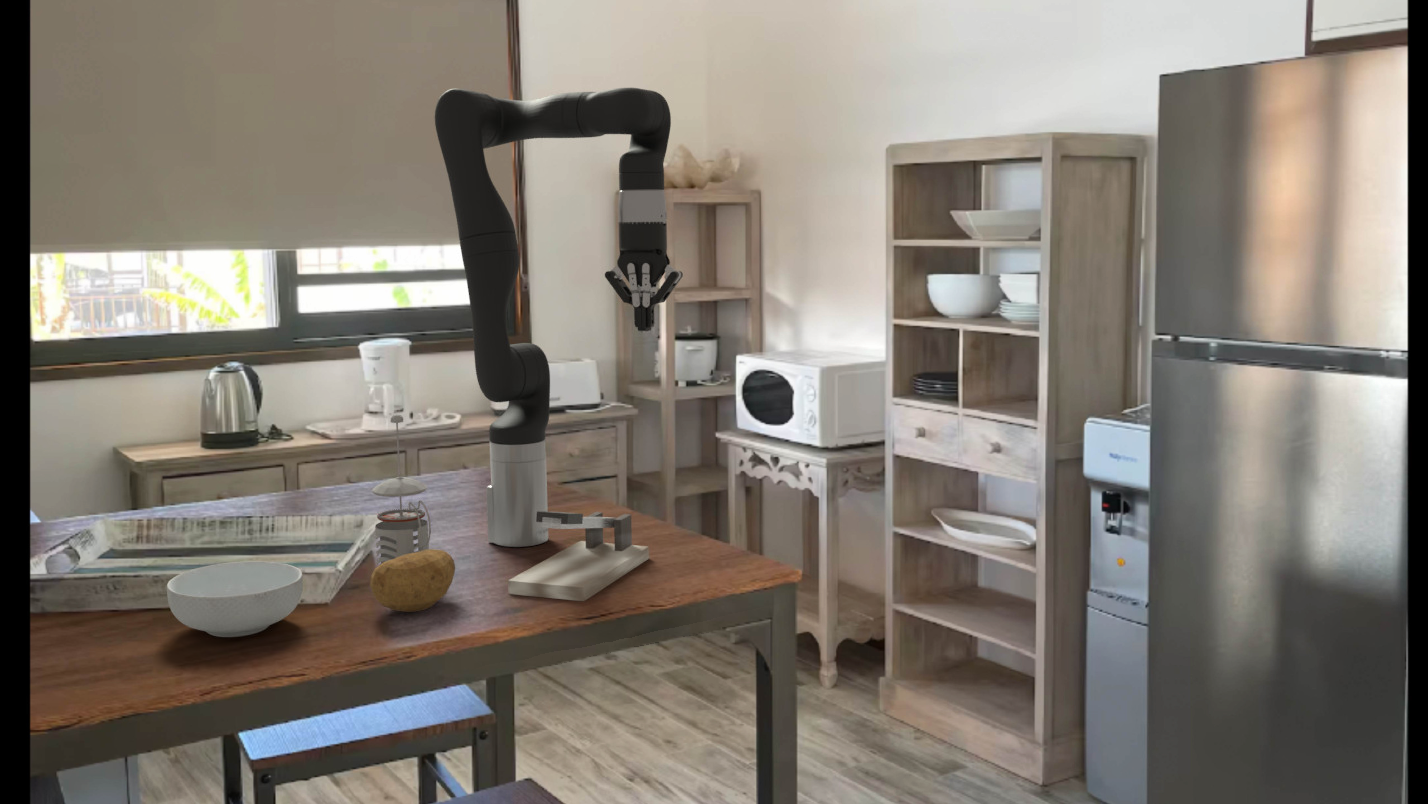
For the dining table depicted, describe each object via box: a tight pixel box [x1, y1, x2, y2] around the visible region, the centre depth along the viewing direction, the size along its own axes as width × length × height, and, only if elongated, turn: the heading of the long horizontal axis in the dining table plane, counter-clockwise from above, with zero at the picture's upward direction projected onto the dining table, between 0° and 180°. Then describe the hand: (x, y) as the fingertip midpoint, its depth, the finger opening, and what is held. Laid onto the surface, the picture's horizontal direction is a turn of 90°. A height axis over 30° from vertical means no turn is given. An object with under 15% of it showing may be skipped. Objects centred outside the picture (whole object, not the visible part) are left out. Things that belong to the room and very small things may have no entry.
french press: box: [371, 414, 432, 565], centre depth 193 cm, size 10×12×25 cm
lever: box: [536, 511, 617, 530], centre depth 194 cm, size 5×21×2 cm, turn 160°
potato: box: [369, 548, 456, 613], centre depth 179 cm, size 10×14×8 cm
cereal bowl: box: [166, 560, 304, 638], centre depth 171 cm, size 17×17×7 cm
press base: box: [507, 511, 650, 602], centre depth 194 cm, size 12×24×7 cm, turn 160°
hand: (644, 330), depth 203 cm, fingers closed
